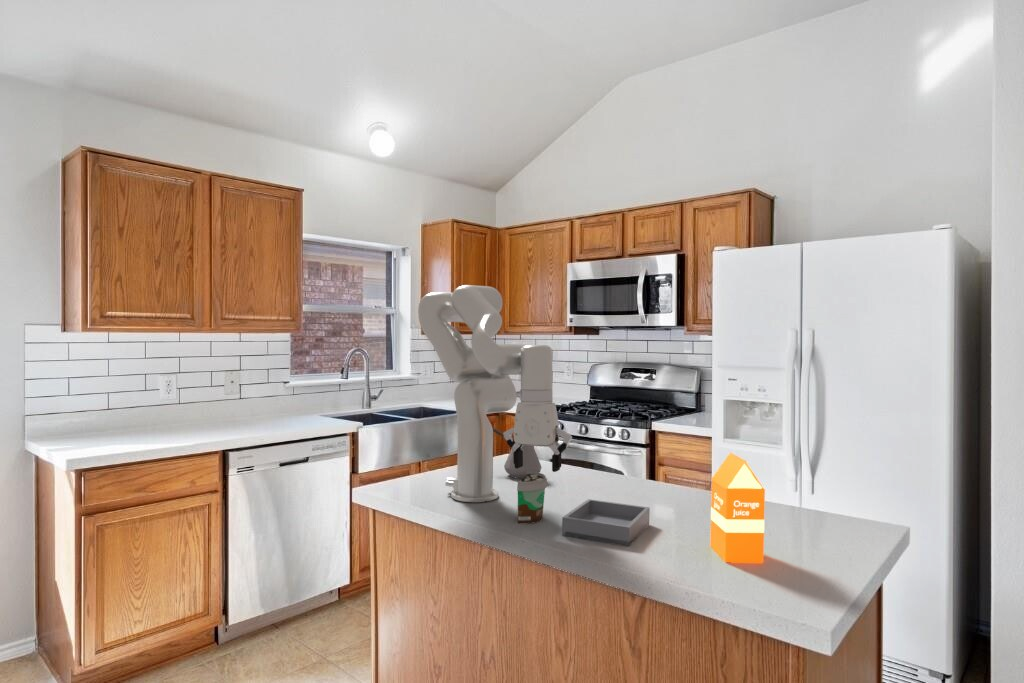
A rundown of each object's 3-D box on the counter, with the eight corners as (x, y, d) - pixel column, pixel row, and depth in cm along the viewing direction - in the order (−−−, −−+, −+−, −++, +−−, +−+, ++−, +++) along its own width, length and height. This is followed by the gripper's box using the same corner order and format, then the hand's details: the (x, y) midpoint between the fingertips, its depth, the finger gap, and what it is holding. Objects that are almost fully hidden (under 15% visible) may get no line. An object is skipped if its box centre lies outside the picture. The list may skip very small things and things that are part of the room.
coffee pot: (548, 475, 196) (549, 427, 196) (527, 482, 187) (528, 431, 187) (493, 466, 209) (493, 420, 208) (471, 472, 199) (471, 424, 199)
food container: (543, 527, 145) (543, 483, 145) (516, 525, 146) (517, 482, 146) (550, 512, 157) (551, 471, 157) (526, 510, 158) (526, 470, 158)
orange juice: (746, 547, 133) (748, 452, 133) (764, 563, 124) (766, 461, 124) (709, 547, 133) (711, 452, 132) (724, 563, 124) (726, 461, 124)
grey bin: (562, 535, 139) (562, 517, 139) (588, 515, 154) (588, 499, 154) (629, 546, 133) (629, 527, 132) (649, 524, 148) (649, 507, 148)
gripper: (497, 397, 151) (497, 469, 151) (564, 399, 143) (565, 475, 143) (511, 394, 158) (511, 463, 158) (576, 396, 150) (577, 469, 150)
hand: (537, 469), depth 151 cm, fingers open, 9 cm apart
